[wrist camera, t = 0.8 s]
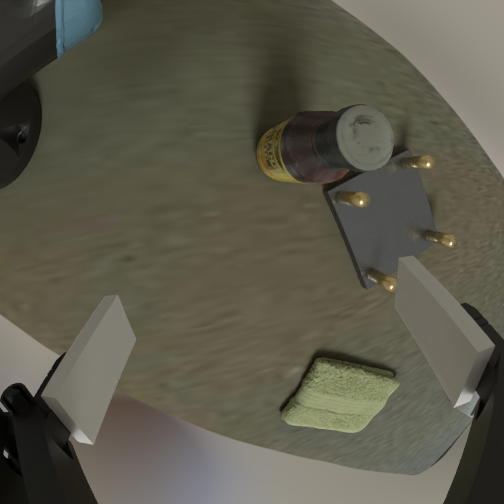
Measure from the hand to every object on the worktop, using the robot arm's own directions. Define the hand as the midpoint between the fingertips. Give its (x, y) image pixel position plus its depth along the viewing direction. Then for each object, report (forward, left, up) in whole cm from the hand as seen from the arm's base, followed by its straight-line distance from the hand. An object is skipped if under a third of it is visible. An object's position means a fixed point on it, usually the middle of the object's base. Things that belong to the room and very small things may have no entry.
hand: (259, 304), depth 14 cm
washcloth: (+31, +4, -23) cm, 39 cm away
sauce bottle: (-5, +10, -23) cm, 25 cm away
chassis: (+8, +20, -23) cm, 31 cm away
